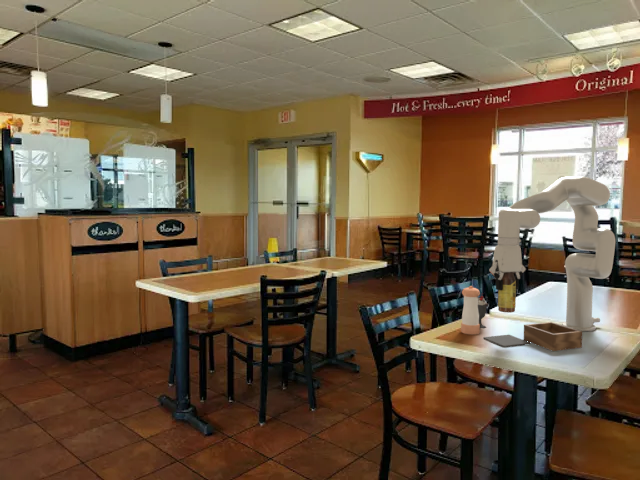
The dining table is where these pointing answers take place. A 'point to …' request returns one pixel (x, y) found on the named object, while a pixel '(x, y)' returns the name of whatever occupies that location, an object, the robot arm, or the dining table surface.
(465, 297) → the salt shaker
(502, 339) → the mat
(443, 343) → the dining table surface
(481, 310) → the sundae
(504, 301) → the sauce bottle
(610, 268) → the robot arm
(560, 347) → the caddy
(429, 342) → the dining table surface
